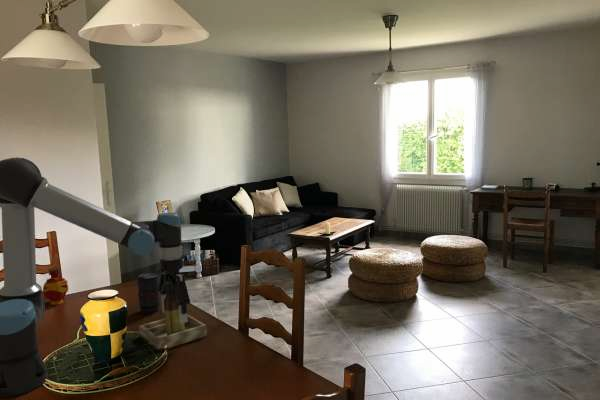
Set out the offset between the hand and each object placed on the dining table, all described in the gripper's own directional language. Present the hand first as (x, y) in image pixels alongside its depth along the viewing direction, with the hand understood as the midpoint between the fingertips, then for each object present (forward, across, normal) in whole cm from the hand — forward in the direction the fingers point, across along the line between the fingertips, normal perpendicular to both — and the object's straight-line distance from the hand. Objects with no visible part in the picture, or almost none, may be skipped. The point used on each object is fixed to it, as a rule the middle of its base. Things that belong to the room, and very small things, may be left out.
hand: (174, 316), depth 163 cm
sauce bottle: (+7, 0, 0) cm, 7 cm away
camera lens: (+8, +32, -4) cm, 33 cm away
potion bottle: (+8, +70, +22) cm, 74 cm away
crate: (+8, +2, 0) cm, 8 cm away
